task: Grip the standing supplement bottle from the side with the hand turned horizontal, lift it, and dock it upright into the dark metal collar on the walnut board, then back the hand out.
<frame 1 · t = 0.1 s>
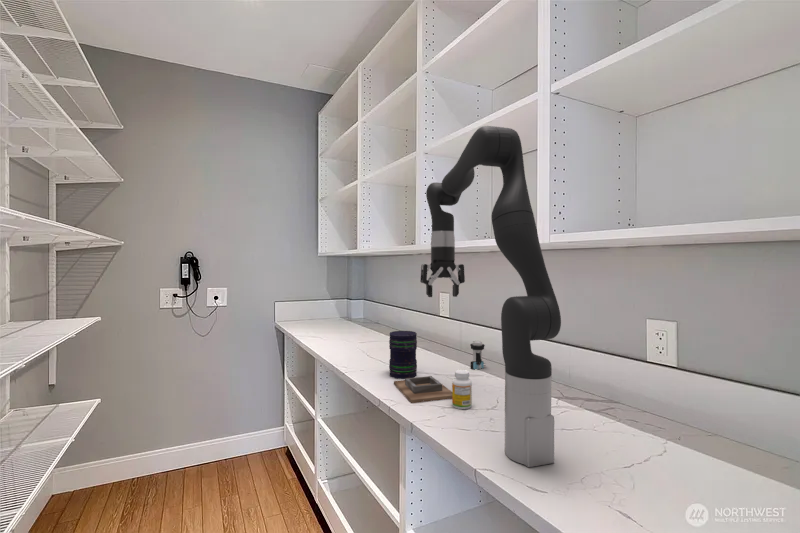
hand: (442, 296, 124), 29 cm above the countertop, tool pointing down, fingers open, 8 cm apart
dock board: (423, 390, 121), on the countertop
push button: (478, 368, 147), on the countertop
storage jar: (403, 375, 138), on the countertop
supplement bottle: (461, 406, 109), on the countertop
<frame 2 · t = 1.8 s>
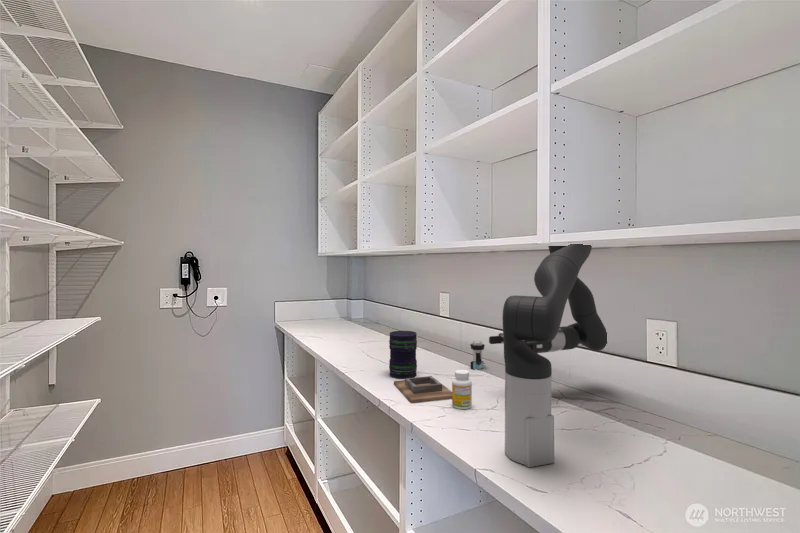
hand: (497, 343, 112), 17 cm above the countertop, tool horizontal, fingers open, 8 cm apart
nothing on the countertop moved.
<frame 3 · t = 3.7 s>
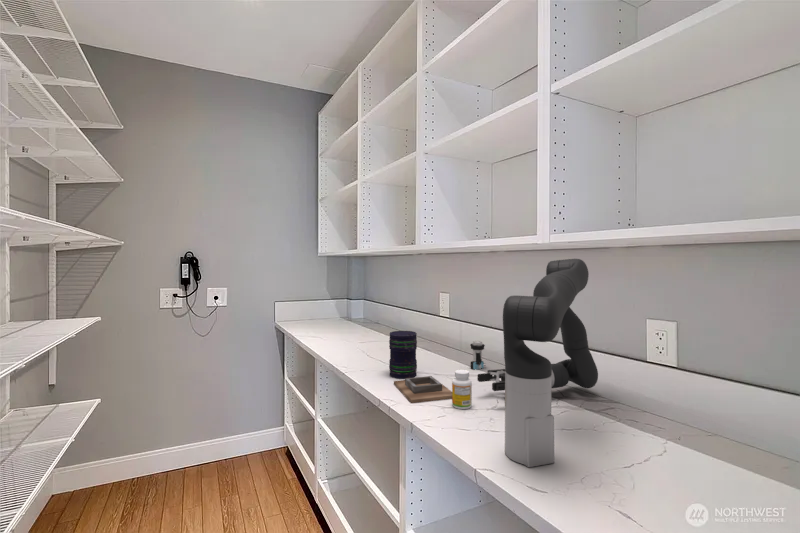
hand: (485, 382, 111), 6 cm above the countertop, tool horizontal, fingers open, 8 cm apart
nothing on the countertop moved.
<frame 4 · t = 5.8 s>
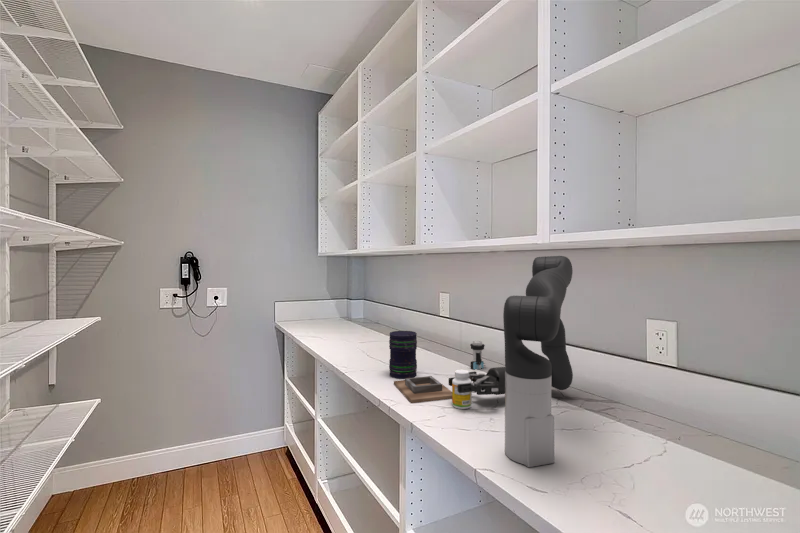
hand: (453, 385, 108), 6 cm above the countertop, tool horizontal, fingers closed on supplement bottle, 5 cm apart
supplement bottle: (461, 406, 109), on the countertop, touching gripper
everything else where it was.
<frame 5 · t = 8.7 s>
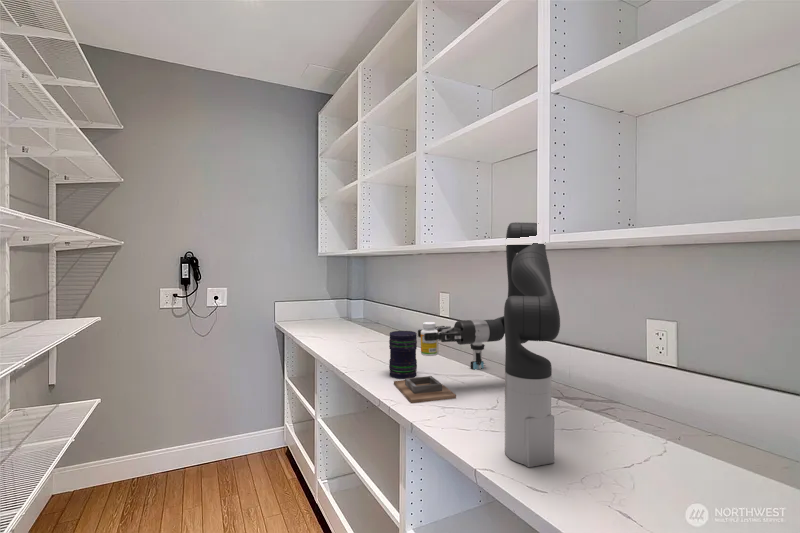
hand: (421, 335, 119), 18 cm above the countertop, tool horizontal, fingers closed on supplement bottle, 5 cm apart
supplement bottle: (429, 354, 120), point 12 cm above the countertop, touching gripper
everything else where it was.
when the fingers open (8 cm above the countertop, at t = 11.7 s): supplement bottle drops 1 cm, resting on dock board.
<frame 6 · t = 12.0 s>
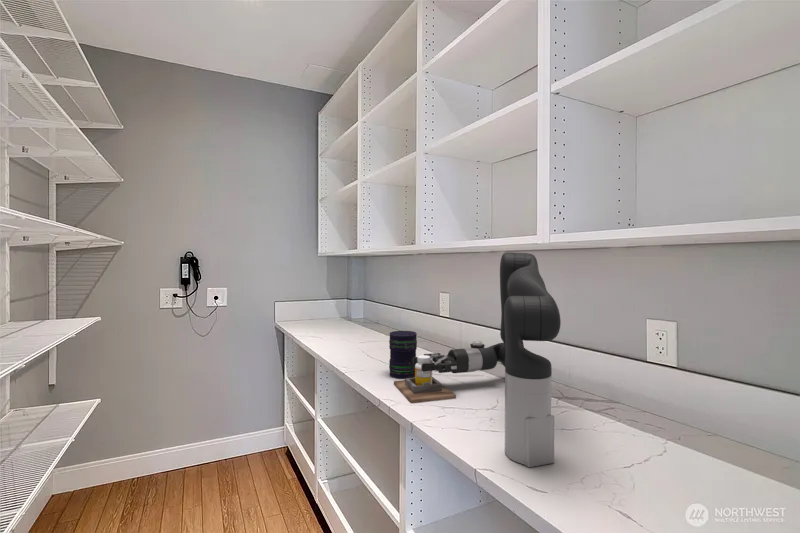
hand: (417, 364, 121), 9 cm above the countertop, tool horizontal, fingers open, 8 cm apart
supplement bottle: (423, 388, 121), point 1 cm above the countertop, touching dock board
everything else where it was.
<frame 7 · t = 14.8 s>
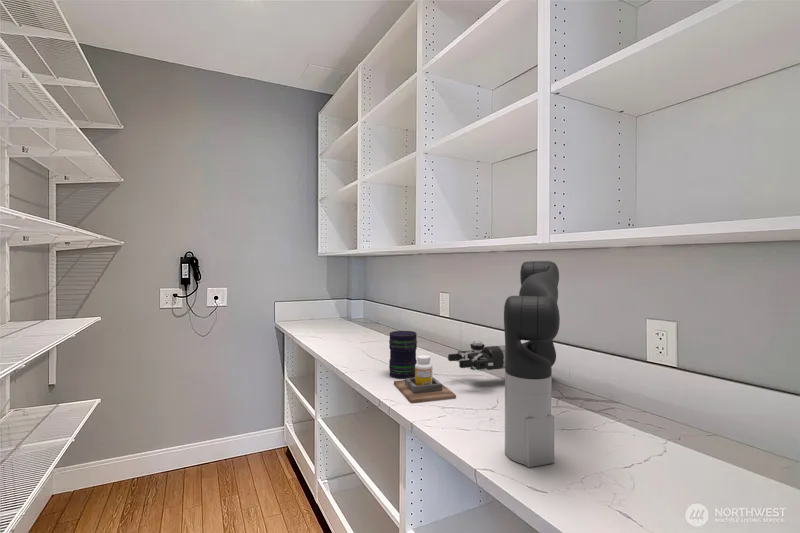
hand: (454, 361, 124), 9 cm above the countertop, tool horizontal, fingers open, 8 cm apart
nothing on the countertop moved.
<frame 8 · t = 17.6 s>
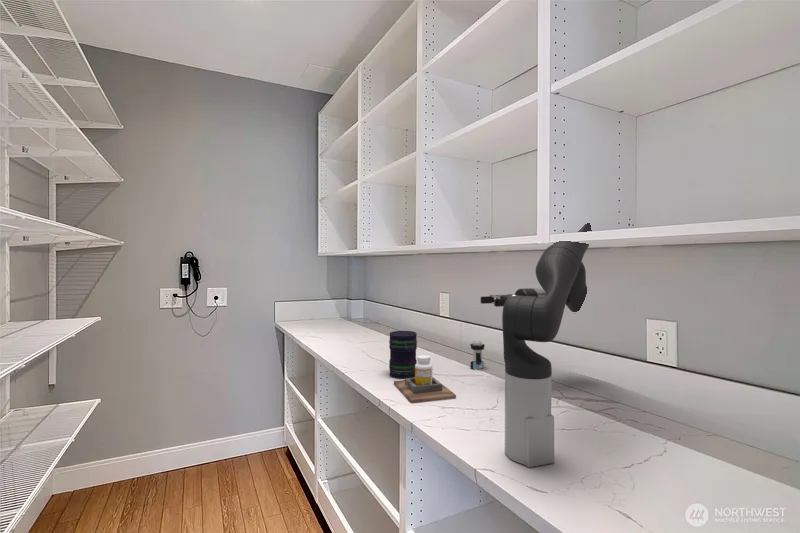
hand: (487, 301, 121), 28 cm above the countertop, tool horizontal, fingers open, 8 cm apart
nothing on the countertop moved.
at the end: supplement bottle 0.1 cm off-centre on the dock board, point 0.8 cm above the dock board's base; supplement bottle tilted 0°; the gripper is holding nothing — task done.
